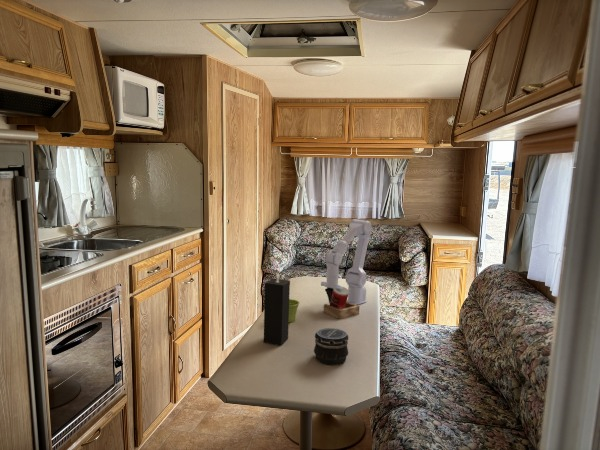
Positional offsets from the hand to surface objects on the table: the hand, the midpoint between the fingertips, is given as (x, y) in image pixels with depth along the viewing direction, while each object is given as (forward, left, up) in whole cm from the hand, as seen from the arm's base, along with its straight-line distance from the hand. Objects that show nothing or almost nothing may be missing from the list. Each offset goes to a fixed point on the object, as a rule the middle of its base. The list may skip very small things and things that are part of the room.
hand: (331, 302), depth 219 cm
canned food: (0, +4, -2) cm, 5 cm away
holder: (0, +7, -3) cm, 7 cm away
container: (+39, +42, -4) cm, 57 cm away
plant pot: (+27, +1, -4) cm, 28 cm away
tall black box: (+46, +17, -4) cm, 49 cm away
